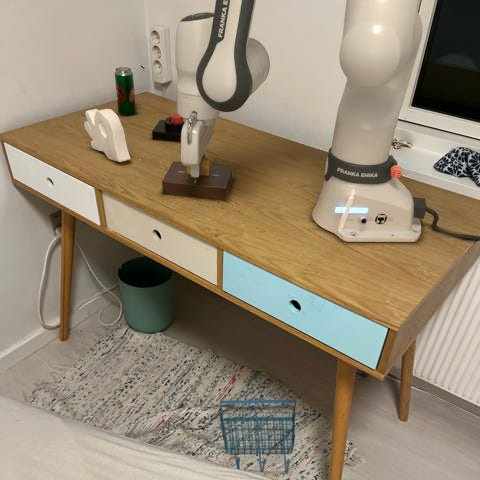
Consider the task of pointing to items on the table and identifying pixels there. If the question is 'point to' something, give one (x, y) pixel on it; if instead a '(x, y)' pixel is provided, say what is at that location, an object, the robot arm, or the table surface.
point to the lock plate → (197, 182)
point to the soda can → (125, 91)
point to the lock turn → (202, 167)
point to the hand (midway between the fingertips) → (198, 169)
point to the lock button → (176, 118)
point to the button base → (167, 131)
